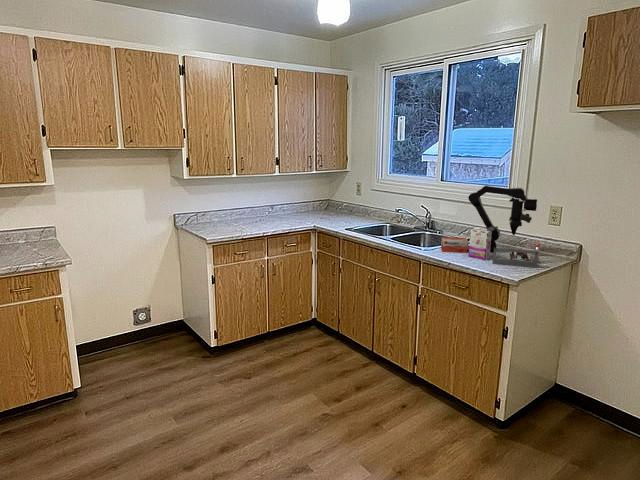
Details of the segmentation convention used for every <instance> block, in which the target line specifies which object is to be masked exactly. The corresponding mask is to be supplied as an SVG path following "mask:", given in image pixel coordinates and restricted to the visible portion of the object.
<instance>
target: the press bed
mask: <svg viewBox="0 0 640 480" xmlns="http://www.w3.org/2000/svg"><path fill="white" fill-rule="evenodd" d="M497 252H510V253H511V252H514V257H515V258H514V259H512V260H511V259H510V258H509V259H506V258H497ZM517 252H520V253H527V254H534V256H535V260H534V261H533V262H532V260H531V261H530V260H529V261H526V260H517V259H516V257H517V258H518V256H517ZM539 252H540V250H539V251H535V250H529V249H527V250H525V249H522V250H517V249H516V248H502V247H501V248H500V247H496V248H494V253H493V256H492V265H498V266H499V265H501V266H510V267H513V266H514V267H521V268H533V269H536V268H538V263H537V262H538V257H539Z"/></svg>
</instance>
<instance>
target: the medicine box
mask: <svg viewBox="0 0 640 480" xmlns="http://www.w3.org/2000/svg"><path fill="white" fill-rule="evenodd" d="M440 250H441V252H442V253H456V254H457V253H458V254H467V253H468V250H469V241H468V239H467V237H448V236H447V237H446V236H442V237H441V242H440Z"/></svg>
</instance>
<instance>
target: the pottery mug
mask: <svg viewBox="0 0 640 480" xmlns="http://www.w3.org/2000/svg"><path fill="white" fill-rule="evenodd" d="M517 250H523V249H522V248H518V249H517ZM518 257H520V258H521V259H522V260H525V261H530V260H529V256H528V253H520V252H517V257H516V258H515V257H514V252H510V253H509V260H517V259H518Z"/></svg>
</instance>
